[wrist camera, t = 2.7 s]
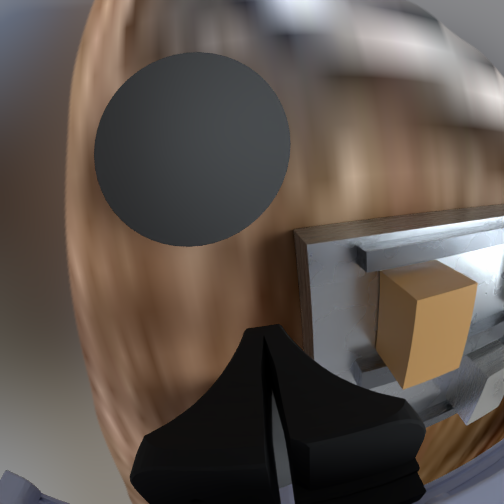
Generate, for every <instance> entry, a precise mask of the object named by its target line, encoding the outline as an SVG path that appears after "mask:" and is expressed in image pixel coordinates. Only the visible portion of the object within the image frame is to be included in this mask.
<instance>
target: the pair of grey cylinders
mask: <svg viewBox="0 0 504 504" xmlns="http://www.w3.org/2000/svg"><path fill="white" fill-rule="evenodd" d="M289 157H290V132H289V126H288V122H287V117H286V115H285V112H284V109H283V107H282V105H281V103H280V101H279V99H278V97H277V95H276V94H275V92H274V91H273V90H272V88H271V87H270V86H269V84H268V83H267V82H266V81H265V80H264V79H263V78H262V77H261V76H260V75H258V74H257V73H256V72H255V71H253V70H252V69H250V68H249V67H247V66H246V65H244V64H242V63H240V62H238V61H236V60H233V59H231V58H228V57H225V56H221V55H217V54H212V53H202V52H196V53H183V54H177V55H173V56H169V57H166V58H163V59H160V60H158V61H156V62H153V63H151V64H149V65H148V66H146V67H144V68H142V69H141V70H139V71H138V72H137V73H135V74H134V75H133V76H131V77H130V78H129V79H128V80H127V81H126V82H125V83H124V84H123V85H122V86H121V87H120V88H119V89H118V91H117V92H116V93H115V94H114V96H113V97H112V99H111V100H110V102H109V103H108V105H107V107H106V109H105V111H104V113H103V115H102V117H101V120H100V123H99V126H98V129H97V134H96V139H95V149H94V160H95V170H96V174H97V179H98V182H99V185H100V188H101V191H102V193H103V195H104V197H105V199H106V201H107V202H108V204H109V205H110V207H111V208H112V210H113V211H114V212H115V214H116V215H117V216H118V217H119V218H120V219H121V220H122V221H123V222H124V223H125V224H126V225H128V226H129V227H130V228H131V229H133V230H134V231H136V232H137V233H139V234H140V235H142V236H144V237H147V238H149V239H151V240H153V241H157V242H160V243H163V244H168V245H173V246H186V247H190V246H202V245H207V244H211V243H215V242H218V241H221V240H224V239H227V238H229V237H231V236H233V235H235V234H237V233H239V232H240V231H242V230H243V229H245V228H246V227H248V226H249V225H250V224H251V223H253V222H254V221H255V220H256V219H257V218H258V217H259V216H260V215H261V214H262V213H263V212H264V211H265V210H266V209H267V208H268V206H269V205H270V204H271V202H272V201H273V199H274V198H275V196H276V195H277V193H278V191H279V189H280V187H281V185H282V183H283V180H284V177H285V174H286V171H287V167H288V162H289ZM272 427H273V446H274V453H275V461H276V469H277V477H278V484H279V488H282V487H285V486H288V485H290V484H292V481H291V475H290V468H289V461H288V455H287V448H286V442H285V437H284V433H283V429H282V425H281V421H280V418H279V414H278V410H277V407H276V403H275V399H274V395H273V391H272Z"/></svg>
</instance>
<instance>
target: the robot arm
mask: <svg viewBox="0 0 504 504" xmlns="http://www.w3.org/2000/svg"><path fill="white" fill-rule="evenodd" d="M272 391H273V395H274V399H275V403H276V407H277V410H278V414H279V418H280V421H281V425H282V429H283V433H284V437H285V442H286V448H287V455H288V461H289V468H290V475H291V481H292V484H290V485H288V486H285V487H282V488H279V484H278V477H277V469H276V461H275V453H274V446H273V427H272ZM425 433H426V428H425V424H424V423H423V421H422V420H421V418H420V417H419V415H418V414H417V412H416V411H415V410H414V408H413V407H412V406H411V405H410V404H409V403H408V402H407V400H406V399H404V398H399V397H395V396H390V395H386V394H382V393H378V392H375V391H372V390H369V389H366V388H363V387H360V386H358V385H355V384H353V383H351V382H349V381H347V380H345V379H342V378H340V377H338V376H337V375H335V374H333V373H331V372H330V371H328V370H327V369H325V368H324V367H322V366H321V365H320V364H318V363H317V362H316V361H314V360H313V359H312V358H311V357H310V356H308V355H307V354H306V353H305V352H304V351H303V350H302V349H301V348H300V347H299V346H298V345H297V344H296V343H295V342H294V341H293V340H292V339H291V338H290V337H289V335H288V334H287V333H286V332H285V330H284V329H283V327H282V326H281V325H279V324H276V325H269V326H262V327H255V328H248V329H246V330H245V331H244V334H243V337H242V339H241V342H240V344H239V346H238V348H237V350H236V352H235V354H234V355H233V357H232V359H231V361H230V362H229V364H228V365H227V367H226V368H225V370H224V371H223V373H222V374H221V376H220V377H219V378H218V379H217V381H216V382H215V383H214V384H213V386H212V387H211V388H210V389H209V390H208V391H207V392H206V393H205V394H204V395H203V396H202V397H201V398H200V399H199V400H198V401H197V402H196V403H195V404H194V405H192V406H191V407H190V408H189V409H187V410H186V411H185V412H184V413H182V414H181V415H179V416H178V417H176V418H175V419H174V420H172V421H170V422H169V423H167V424H166V425H164V426H162V427H160V428H158V429H157V430H155V431H153V432H151V433H149V434H147V435H145V436H144V438H143V440H142V442H141V444H140V446H139V449H138V451H137V454H136V457H135V460H134V464H133V467H132V471H131V474H130V482H131V484H132V485H133V486H134V488H135V489H136V490H137V492H138V493H139V494H140V495H141V496H142V497H143V498H144V499H145V500H146V501H147V502H148V503H149V504H504V439H503V440H501V441H500V442H499V443H497V444H496V445H494V446H493V447H491V448H490V449H488V450H487V451H485V452H484V453H482V454H481V455H479V456H477V457H476V458H474V459H473V460H471V461H469V462H468V463H466V464H464V465H462V466H461V467H459V468H457V469H455V470H453V471H452V472H450V473H448V474H446V475H444V476H442V477H440V478H438V479H436V480H434V481H432V482H430V483H428V484H426V485H423V483H422V481H421V479H420V477H419V475H418V473H417V472H418V471H419V469H420V468H419V465H418V463H417V461H416V459H415V457H416V455H417V453H418V451H419V448H420V446H421V444H422V442H423V440H424V437H425ZM0 504H69V503H66V502H63V501H60V500H58V499H55V498H53V497H50V496H47V495H45V494H43V493H41V492H40V490H39V489H38V488H37V487H36V486H35V485H33V484H32V483H31V482H29V481H28V480H26V479H25V478H23V477H20V476H18V475H16V474H14V473H12V472H10V471H8V470H6V471H5V473H4V474H3V476H2V478H1V480H0Z"/></svg>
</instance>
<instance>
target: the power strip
mask: <svg viewBox="0 0 504 504" xmlns="http://www.w3.org/2000/svg"><path fill="white" fill-rule="evenodd" d="M293 232H294V241H295V251H296V261H297V271H298V282H299V294H300V306H301V319H302V333H303V348H304V352H305V353H306V354H307V355H308V356H310V357H311V358H312V359H313V360H314V361H316V362H317V363H318V364H320V365H321V366H322V367H324V368H325V369H327V370H328V371H330V372H331V373H333V374H335V375H337V376H338V377H340V378H342V379H345V380H347V381H349V382H351V383H353V384H355V385H358V386H360V387H363V388H366V389H369V390H372V391H375V392H378V393H382V394H386V395H390V396H395V397H399V398H404V399H406V400H407V402H408V403H409V404H410V405H411V406H412V407H413V408H414V410H415V411H416V412H417V414H418V415H419V417H420V418H421V420H422V421H423V423H424V424H425V428H426V427H428V426H431V425H433V424H435V423H437V422H440V421H442V420H444V419H446V418H448V417H450V416H452V415H454V414H456V413H458V415H459V416H460V417H461V419H462V420H463V421H464V423H465V424H466V425H468V424H470V423H472V422H474V421H475V420H477V419H479V418H480V417H482V416H484V415H485V414H487V413H489V412H490V411H492V410H493V409H495V408H497V407H498V406H499V404H500V402H501V400H502V398H503V396H504V204H500V205H490V206H480V207H471V208H462V209H452V210H443V211H435V212H426V213H417V214H409V215H400V216H392V217H384V218H376V219H368V220H360V221H352V222H344V223H336V224H329V225H321V226H314V227H306V228H299V229H293ZM431 260H438V261H440V262H441V263H443V264H445V265H447V266H449V267H451V268H452V269H454V270H456V271H458V272H460V273H461V274H463V275H465V276H467V277H468V278H470V279H472V280H474V281H475V282H477V283H478V285H477V292H476V298H475V303H474V309H473V314H472V319H471V323H470V328H469V332H468V336H467V340H466V344H465V348H464V352H463V355H462V359H461V362H460V366H459V368H457V369H455V370H453V371H450V372H448V373H446V374H443V375H441V376H438V377H436V378H433V379H431V380H428V381H426V382H423V383H420V384H418V385H415V386H412V387H409V388H406V389H403V390H402V388H401V387H400V385H399V384H398V382H397V381H396V379H395V378H394V376H393V375H392V373H391V372H390V370H389V369H388V367H387V366H386V364H385V363H384V361H383V360H382V358H381V357H380V355H379V354H378V353H377V351H376V343H377V331H378V316H379V296H380V271H381V270H386V269H392V268H397V267H402V266H407V265H412V264H417V263H422V262H427V261H431Z"/></svg>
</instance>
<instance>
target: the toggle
mask: <svg viewBox="0 0 504 504" xmlns="http://www.w3.org/2000/svg"><path fill="white" fill-rule="evenodd" d="M477 285H478V283H477V282H475V281H474V280H472V279H470V278H468V277H467V276H465V275H463V274H461V273H460V272H458V271H456V270H454V269H452V268H451V267H449V266H447V265H445V264H443V263H441V262H440V261H438V260H431V261H427V262H422V263H417V264H412V265H407V266H402V267H397V268H392V269H386V270H381V271H380V296H379V316H378V331H377V343H376V351H377V353H378V354H379V355H380V357H381V358H382V360H383V361H384V363H385V364H386V366H387V367H388V369H389V370H390V372H391V373H392V375H393V376H394V378H395V379H396V381H397V382H398V384H399V385H400V387H401V388H402V390H403V389H406V388H409V387H412V386H415V385H418V384H420V383H423V382H426V381H428V380H431V379H433V378H436V377H438V376H441V375H443V374H446V373H448V372H450V371H453V370H455V369H457V368H459V366H460V362H461V359H462V355H463V352H464V348H465V344H466V340H467V336H468V332H469V328H470V323H471V319H472V314H473V309H474V303H475V298H476V292H477Z"/></svg>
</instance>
